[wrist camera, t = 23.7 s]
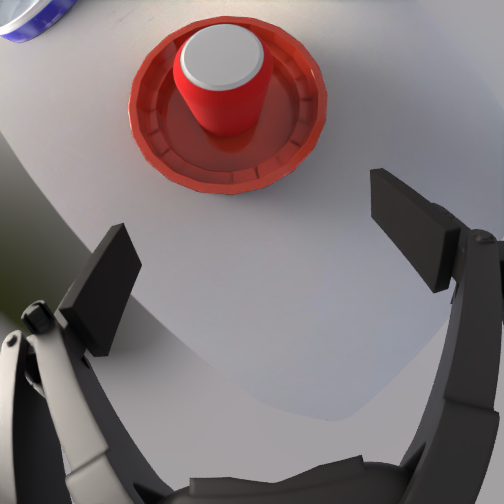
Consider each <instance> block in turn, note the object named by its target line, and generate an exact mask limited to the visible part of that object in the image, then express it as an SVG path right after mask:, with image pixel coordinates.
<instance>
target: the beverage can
mask: <svg viewBox="0 0 504 504" xmlns="http://www.w3.org/2000/svg"><path fill="white" fill-rule="evenodd" d="M272 71H273V60H272V56H271V53H270V50H269V48H268V46H267V45H266V43H265V42H264V41H263V40H262V39H261V38H260V37H259V36H258V35H257V34H255V33H254V32H252V31H250V30H248V29H246V28H244V27H242V26H239V25H235V24H215V25H211V26H208V27H205V28H203V29H201V30H199V31H197V32H196V33H194V34H193V35H192V36H191V37H190V38H188V39H187V40H186V41H185V42H184V44H183V45H182V46H181V47H180V49H179V51H178V53H177V55H176V57H175V61H174V66H173V75H174V80H175V83H176V86H177V88H178V90H179V91H180V93H181V95H182V96H183V98H184V100H185V101H186V103H187V105H188V106H189V108H190V110H191V111H192V113H193V115H194V116H195V118H196V120H197V122H198V123H199V124H200V126H201V127H202V128H203V129H205V130H206V131H207V132H209V133H211V134H214V135H217V136H222V137H230V136H236V135H239V134H241V133H244V132H245V131H247V130H248V129H250V128H251V127H252V126H253V125H254V124H255V123H256V121H257V120H258V118H259V116H260V113H261V110H262V106H263V103H264V100H265V96H266V93H267V89H268V86H269V83H270V80H271V76H272Z"/></svg>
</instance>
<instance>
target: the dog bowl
mask: <svg viewBox="0 0 504 504" xmlns="http://www.w3.org/2000/svg"><path fill="white" fill-rule="evenodd" d="M76 1H77V0H0V36H1V37H3V38H6V39H8V40H10V41H12V42H16V43H20V42H25V41H28V40H30V39H32V38H34V37H36V36H38V35H39V34H41V33H43V32H44V31H45V30H47V29H48V28H49V27H51V26H52V25H53V24H54V23H56V22H57V21H58V20H59V19H60V18H61V17H62V16H63V15H64V14H65V13H66V12H67V11H68V10H69V9H70V8H71V7H72V6H73V5H74V3H75V2H76Z"/></svg>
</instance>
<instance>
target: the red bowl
mask: <svg viewBox="0 0 504 504" xmlns="http://www.w3.org/2000/svg"><path fill="white" fill-rule="evenodd" d="M215 24H235V25H239V26H242V27H244V28H246V29H248V30H250V31H252V32H254V33H255V34H257V35H258V36H259V37H260V38H261V39H262V40H263V41H264V42H265V43H266V45H267V46H268V48H269V50H270V53H271V56H272V60H273V71H272V76H271V80H270V83H269V86H268V89H267V93H266V96H265V100H264V103H263V106H262V110H261V113H260V116H259V118H258V120H257V121H256V123H255V124H254V125H253V126H252V127H251V128H250V129H248V130H247V131H245V132H244V133H241V134H239V135H236V136H230V137H222V136H217V135H214V134H211V133H209V132H207V131H206V130H205V129H203V128H202V127H201V126H200V124H199V123H198V122H197V120H196V118H195V116H194V115H193V113H192V111H191V110H190V108H189V106H188V105H187V103H186V101H185V100H184V98H183V96H182V95H181V93H180V91H179V90H178V88H177V86H176V83H175V80H174V75H173V66H174V61H175V57H176V55H177V53H178V51H179V49H180V47H181V46H182V45H183V44H184V42H185V41H186V40H187V39H188V38H190V37H191V36H192V35H193V34H194V33H196V32H197V31H199V30H201V29H203V28H205V27H208V26H211V25H215ZM133 80H134V81H133V83H132V88H131V93H130V99H129V104H128V112H129V118H130V125H131V131H132V135H133V138H134V139H135V141H136V143H137V145H138V146H139V148H140V150H141V152H142V153H143V155H144V157H145V159H146V160H147V161H148V162H149V163H150V164H151V165H152V166H153V167H155V168H156V169H157V170H158V171H159V172H160V173H162V174H163V175H164V176H165V177H166V178H167V179H169V180H170V181H172V182H175V183H177V184H180V185H182V186H185V187H187V188H190V189H192V190H195V191H197V192H202V193H216V194H228V195H234V194H238V193H243V192H247V191H252V190H256V189H261V188H265V187H267V186H269V185H270V184H272V183H274V182H276V181H277V180H279V179H281V178H283V177H284V176H286V175H288V174H290V173H292V172H293V171H294V170H295V169H296V168H297V167H298V166H299V165H300V163H301V162H302V161H303V160H304V159H305V158H306V157H307V156H308V155H309V154H310V153H311V151H312V150H313V149H314V148H315V145H316V143H317V141H318V138H319V136H320V134H321V131H322V129H323V127H324V124H325V121H326V108H327V91H326V88H325V84H324V81H323V78H322V74H321V71H320V68H319V66H318V65H317V63H316V62H315V60H314V59H313V58H312V56H311V55H310V53H309V52H308V51H307V49H306V48H305V47H304V45H303V44H302V43H300V42H299V41H298V40H296V39H295V38H294V37H292V36H291V35H290V34H288V33H287V32H285V31H284V30H283V29H281V28H280V27H277V26H275V25H272V24H269V23H266V22H263V21H261V20H258V19H255V18H248V17H233V16H220V17H215V18H210V19H205V20H201V21H196V22H193V23H191V24H189V25H187V26H185V27H183V28H181V29H179V30H177V31H175V32H174V33H172V34H170V35H168V36H167V37H166V38H165V39H164V40H163V41H161V42H160V43H159V44H158V45H157V46H156V47H155V48H154V49H153V50H152V51H151V52H150V53H149V54H148V55H147V56H146V58H145V60H144V61H143V63H142V65H141V67H140V68H139V70H138V72H137V74H136V76H135V78H134V79H133Z"/></svg>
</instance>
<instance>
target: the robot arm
mask: <svg viewBox="0 0 504 504" xmlns="http://www.w3.org/2000/svg"><path fill="white" fill-rule="evenodd" d="M370 181H371V217H372V218H373V219H374V221H375V222H376V223H377V224H378V225H379V226H380V227H381V229H382V230H383V231H384V232H385V233H386V234H387V235H388V237H389V238H390V239H391V240H392V241H393V243H394V244H395V245H396V246H397V247H398V249H399V250H400V251H401V252H402V253H403V255H404V256H405V257H406V258H407V260H408V261H409V262H410V263H411V265H412V266H413V267H414V268H415V270H416V271H417V272H418V274H419V275H420V276H421V277H422V279H423V280H424V281H425V283H426V284H427V285H428V287H429V288H430V289H431V291H432V292H433V293H437V292H440V291H443V290H446V289H448V288H449V284H450V280H451V276H452V277H453V278H454V280H455V281H456V282H457V283H456V286H455V290H454V293H453V297H452V300H451V303H450V304H452V309H451V315H450V320H449V325H448V330H447V335H446V339H445V344H444V348H443V352H442V356H441V360H440V363H439V367H438V370H437V374H436V378H435V381H434V384H433V387H432V390H431V394H430V396H429V400H428V402H427V405H426V408H425V411H424V414H423V416H422V419H421V422H420V425H419V427H418V429H417V432H416V434H415V436H414V439H413V441H412V443H411V445H410V446H409V448H408V450H407V452H406V454H405V455H404V457H403V459H402V461H401V463H400V465H399V466H396V465H393V464H389V463H382V462H363V458H362V455H359V456H356V457H352V458H348V459H345V460H341V461H337V462H332V463H328V464H324V465H319V466H317V467H315V468H312V469H310V470H308V471H305V472H303V473H301V474H298V475H296V476H293V477H291V478H288V479H286V480H283V481H280V482H277V483H267V482H258V481H251V480H244V479H238V478H232V477H222V478H190V486H187V487H185V488H182V489H179V490H177V491H174V490H173V489H171V488H170V487H169V486H168V485H167V484H166V483H164V482H163V481H162V480H161V479H160V478H159V476H158V475H157V474H156V473H155V471H154V470H153V469H152V468H151V466H150V464H149V463H148V462H147V460H146V459H145V458H144V456H143V455H142V453H141V452H140V450H139V449H138V447H137V446H136V444H135V443H134V441H133V440H132V438H131V437H130V435H129V434H128V432H127V430H126V429H125V427H124V426H123V424H122V422H121V421H120V419H119V417H118V416H117V414H116V412H115V410H114V409H113V407H112V405H111V403H110V402H109V400H108V398H107V396H106V394H105V392H104V390H103V389H102V387H101V385H100V383H99V381H98V379H97V377H96V375H95V373H94V371H93V369H92V367H91V364H90V362H89V361H88V359H87V358H86V357H85V356H84V353H85V350H86V348H87V349H88V350H89V351H90V353H91V354H92V355H93V356H94V357H102V356H108V354H109V351H110V348H111V345H112V342H113V339H114V336H115V333H116V330H117V328H118V325H119V322H120V319H121V317H122V314H123V311H124V309H125V306H126V303H127V301H128V298H129V296H130V293H131V291H132V288H133V286H134V283H135V281H136V278H137V276H138V273H139V271H140V269H141V266H142V264H141V261H140V259H139V257H138V255H137V253H136V250H135V248H134V246H133V244H132V241H131V239H130V237H129V235H128V232H127V230H126V228H125V225H124V223H121V224H118V225H115V226H112V227H111V228H110V230H109V231H108V232H107V234H106V235H105V237H104V238H103V239H102V241H101V242H100V244H99V245H98V247H97V248H96V250H95V251H94V252H93V254H92V256H91V257H90V259H89V260H88V262H87V263H86V265H85V266H84V268H83V269H82V271H81V273H80V274H79V276H78V277H77V279H76V280H75V282H74V283H73V284H72V285H71V286H70V288H69V290H68V291H67V293H66V295H65V296H64V299H63V300H62V301H61V303H60V305H59V307H58V308H57V310H56V312H55V314H54V315H53V313H52V312H51V311H50V309H49V308H48V306H47V305H46V303H45V302H44V301H43V300H39V301H36V302H34V303H33V304H31V305H30V306H29V307H28V308H27V309H26V310H25V311H24V313H23V315H22V318H21V319H22V321H23V322H24V324H25V325H26V326H27V327H28V329H29V330H30V331H31V333H32V334H33V335H31V336H29V337H27V338H25V336H24V335H23V334H22V333H21V331H20V330H16V331H14V332H12V333H10V334H9V335H8V336H7V337H6V339H5V340H4V342H3V345H2V349H1V353H0V504H72V501H71V498H70V495H71V497H72V499H73V501H74V503H75V504H475V501H476V499H477V496H478V494H479V492H480V489H481V486H482V483H483V480H484V478H485V475H486V472H487V468H488V465H489V462H490V458H491V455H492V451H493V448H494V444H495V440H496V436H497V431H498V426H499V418H500V417H499V412H496V411H494V400H495V394H496V387H497V381H498V373H499V363H500V353H501V335H502V321H503V325H504V241H497V240H496V238H495V237H494V236H493V235H492V234H491V233H489V232H487V231H484V230H480V229H474V230H471V229H470V228H468V227H467V226H466V225H465V224H464V223H462V222H461V221H460V220H459V219H458V218H455V216H454V215H453V214H451V213H450V212H449V211H448V210H446V209H445V208H444V207H442V206H440V205H438V204H435V203H431V202H429V201H428V200H427V199H425V198H424V197H423V196H421V195H420V194H419V193H417V192H416V191H415V190H413V189H412V188H411V187H409V186H408V185H406V184H405V183H404V182H402V181H401V180H399V179H398V178H397V177H395V176H394V175H392V174H391V173H389V172H388V171H386V170H385V169H383V168H380V169H373V170H370ZM25 376H26V377H27V378H28V379H29V380H30V383H29V382H28V381H27V379H26V377H25ZM60 443H61V444H60ZM61 446H62V448H63V451H64V453H65V456H66V458H67V461H68V463H69V465H70V468H71V473H70V474H68V475H66V474H65V469H64V463H63V458H62V451H61ZM69 492H70V493H69Z"/></svg>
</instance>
